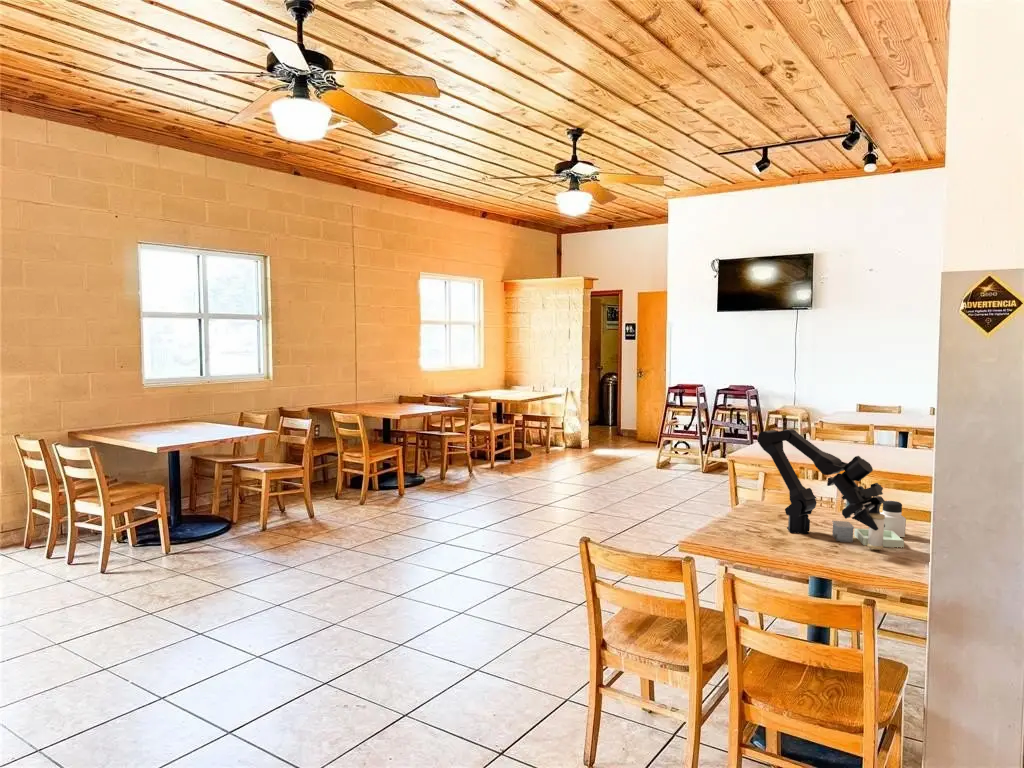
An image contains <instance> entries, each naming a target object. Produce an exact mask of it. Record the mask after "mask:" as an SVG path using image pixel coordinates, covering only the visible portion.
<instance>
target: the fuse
mask: <svg viewBox="0 0 1024 768" xmlns="http://www.w3.org/2000/svg"><path fill="white" fill-rule="evenodd" d="M869 514H870V516H871V517H872V519H873V520H874V522H875V524H876V525H877V527H878V530H876V531H875V530H874V529H872V528H870V527H868V529H869V533H868V545H867V548H868V549H872V550H876V551H877V550H884V547H883V534H884V519H885V515H883V514H880V513H869Z"/></svg>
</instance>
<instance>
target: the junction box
mask: <svg viewBox="0 0 1024 768" xmlns="http://www.w3.org/2000/svg"><path fill="white" fill-rule="evenodd" d="M854 529H855V527H854V525H853V524H851V522H850V521H843V520H842V521H841V520H832V535H831V536H832V537H833V539H836V540H835V541H836V542H837V541H840V543H851V544H852V543H853V541H854Z"/></svg>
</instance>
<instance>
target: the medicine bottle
mask: <svg viewBox="0 0 1024 768" xmlns="http://www.w3.org/2000/svg"><path fill="white" fill-rule="evenodd" d="M884 501H885V502H883V503H882V512H881V511H880V514H883V515H885V519H884V524H885V527H884V530H887V531H893V532H895V533H896V534H897V535H898V536H899V537H905V538H906V525H907V523H906V521H907V519H906V517H904V515H902V514H903V513H902V512H903V504H902V502H900V501H897V500H884Z"/></svg>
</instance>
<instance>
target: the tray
mask: <svg viewBox="0 0 1024 768" xmlns="http://www.w3.org/2000/svg"><path fill="white" fill-rule="evenodd" d="M868 533H869V528H855V527H854V528H853V537H855V538H856V539H857V540H858V541H859V542H860V543H861V544H862V545H863V546H865V545H868ZM904 546H905V540H904V539H903V538H900V537H899V536H898V535H897V534H896V533H895V532H893V531H887V530H884V534H883V548H894V547H897V548H898V547H901V548H900V549H904ZM902 547H903V548H902ZM897 548H896V549H897ZM898 549H899V548H898Z"/></svg>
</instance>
